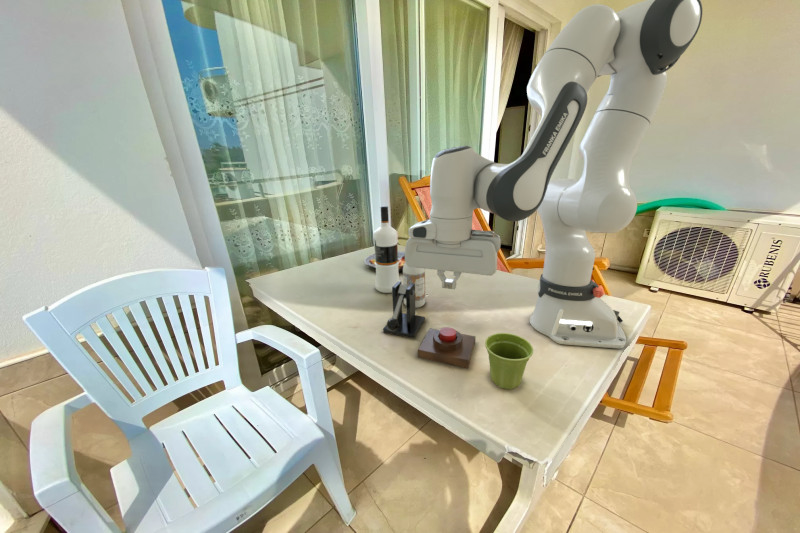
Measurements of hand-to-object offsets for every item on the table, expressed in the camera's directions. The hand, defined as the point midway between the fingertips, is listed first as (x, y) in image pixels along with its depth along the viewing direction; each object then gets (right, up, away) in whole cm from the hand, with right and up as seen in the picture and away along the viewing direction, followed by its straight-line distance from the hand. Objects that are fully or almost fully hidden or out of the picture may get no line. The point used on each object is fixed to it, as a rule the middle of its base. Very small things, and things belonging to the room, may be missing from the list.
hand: (448, 287), depth 69 cm
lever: (-11, -7, +12) cm, 18 cm away
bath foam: (-6, -7, +30) cm, 31 cm away
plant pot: (+11, -20, -4) cm, 23 cm away
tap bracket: (-10, -12, +17) cm, 23 cm away
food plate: (-14, +6, +65) cm, 67 cm away
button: (0, -12, +5) cm, 13 cm away
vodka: (-16, -3, +42) cm, 45 cm away
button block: (+1, -16, +6) cm, 17 cm away
